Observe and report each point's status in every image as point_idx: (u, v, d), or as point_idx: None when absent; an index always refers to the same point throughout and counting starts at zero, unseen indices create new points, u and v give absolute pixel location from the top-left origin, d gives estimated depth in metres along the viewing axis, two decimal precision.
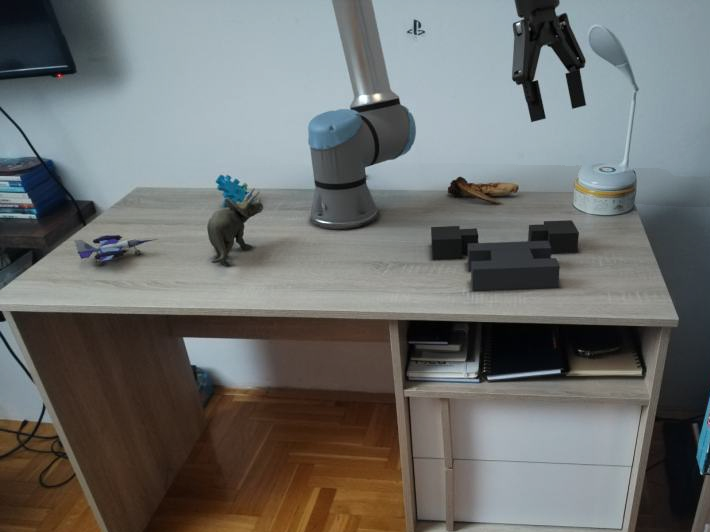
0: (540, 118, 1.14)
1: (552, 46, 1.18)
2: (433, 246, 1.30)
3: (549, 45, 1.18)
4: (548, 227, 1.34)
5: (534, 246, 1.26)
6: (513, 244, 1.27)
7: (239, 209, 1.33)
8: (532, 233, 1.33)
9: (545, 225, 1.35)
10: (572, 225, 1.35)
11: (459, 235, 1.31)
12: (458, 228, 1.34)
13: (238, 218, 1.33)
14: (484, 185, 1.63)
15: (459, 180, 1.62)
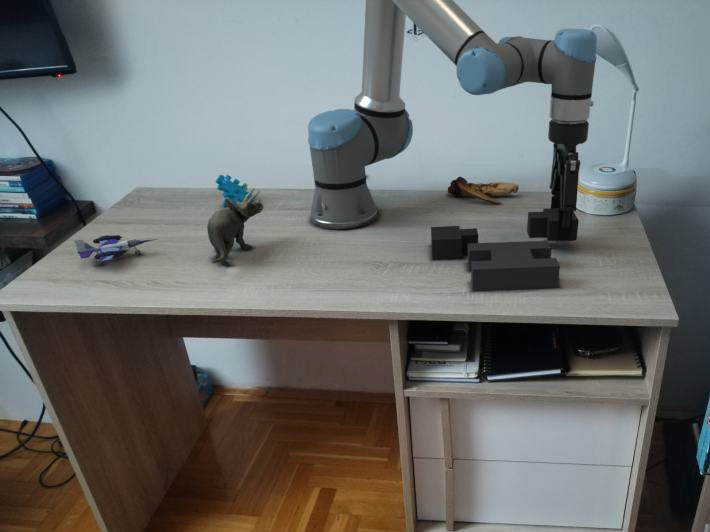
0: (567, 239, 1.32)
1: (558, 169, 1.30)
2: (433, 246, 1.30)
3: (556, 168, 1.30)
4: (547, 215, 1.33)
5: (534, 246, 1.26)
6: (513, 244, 1.27)
7: (239, 209, 1.33)
8: (531, 220, 1.32)
9: (544, 212, 1.34)
10: None
11: (459, 235, 1.31)
12: (458, 228, 1.34)
13: (238, 218, 1.33)
14: (484, 185, 1.63)
15: (459, 180, 1.62)
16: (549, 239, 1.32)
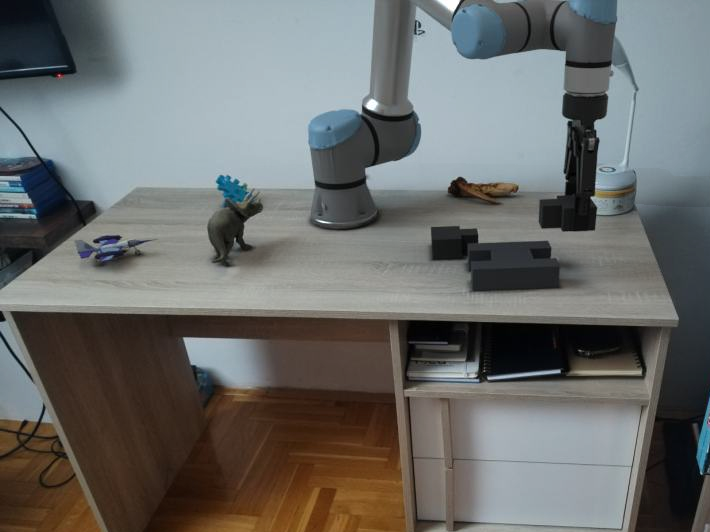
0: (584, 229, 1.17)
1: (573, 150, 1.15)
2: (433, 246, 1.30)
3: (571, 148, 1.15)
4: (562, 202, 1.18)
5: (534, 246, 1.26)
6: (513, 244, 1.27)
7: (239, 209, 1.33)
8: (544, 208, 1.17)
9: (558, 200, 1.19)
10: None
11: (459, 235, 1.31)
12: (458, 228, 1.34)
13: (238, 218, 1.33)
14: (484, 185, 1.63)
15: (459, 180, 1.62)
16: (564, 229, 1.17)
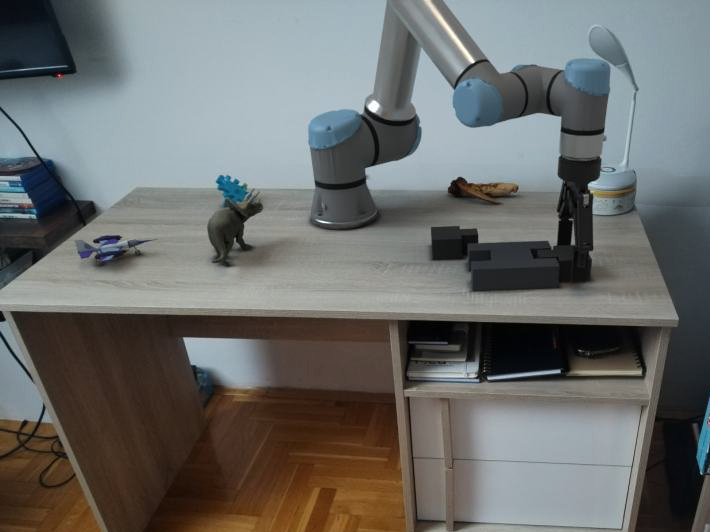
0: (582, 281, 1.19)
1: (567, 202, 1.22)
2: (433, 246, 1.30)
3: (565, 201, 1.21)
4: (558, 253, 1.23)
5: (534, 246, 1.26)
6: (513, 244, 1.27)
7: (239, 209, 1.33)
8: None
9: (555, 250, 1.24)
10: None
11: (459, 235, 1.31)
12: (458, 228, 1.34)
13: (238, 218, 1.33)
14: (484, 185, 1.63)
15: (459, 180, 1.62)
16: (560, 280, 1.22)
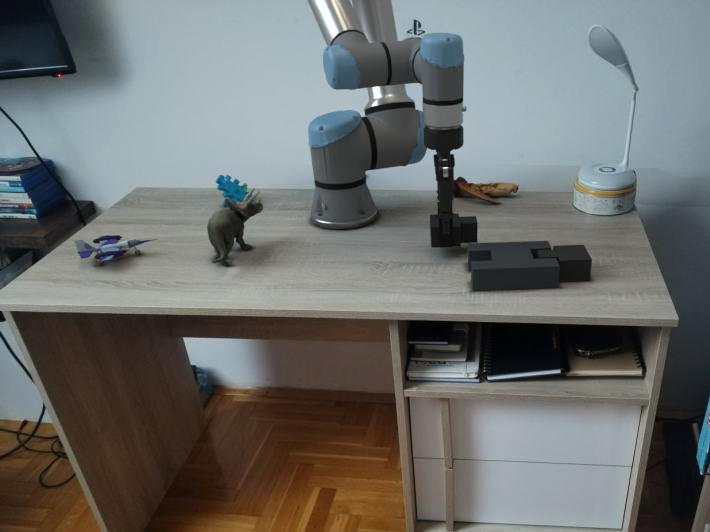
0: (450, 246, 1.30)
1: None
2: (432, 234, 1.29)
3: None
4: (558, 253, 1.23)
5: (534, 246, 1.26)
6: (513, 244, 1.27)
7: (239, 209, 1.33)
8: None
9: (555, 250, 1.24)
10: (584, 250, 1.24)
11: (458, 223, 1.30)
12: (457, 216, 1.33)
13: (238, 218, 1.33)
14: (484, 185, 1.63)
15: (459, 180, 1.62)
16: (560, 280, 1.22)
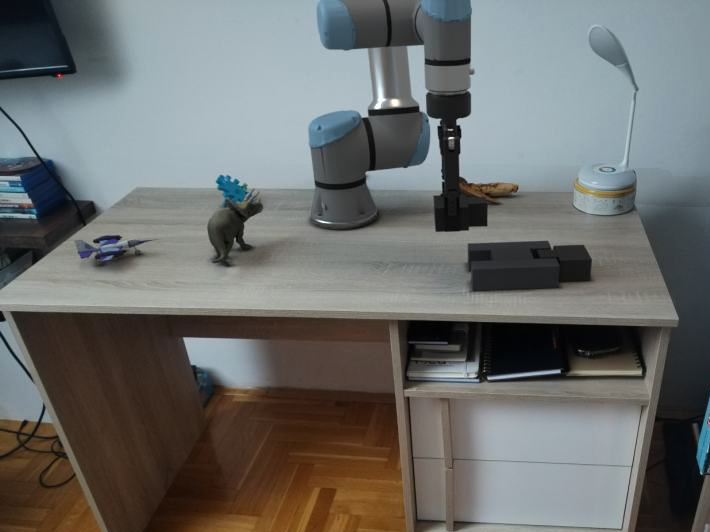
0: (456, 230, 1.15)
1: (444, 150, 1.14)
2: (436, 216, 1.14)
3: None
4: (558, 253, 1.23)
5: (534, 246, 1.26)
6: (513, 244, 1.27)
7: (239, 209, 1.33)
8: None
9: (555, 250, 1.24)
10: (584, 250, 1.24)
11: (466, 203, 1.15)
12: (464, 197, 1.18)
13: (238, 218, 1.33)
14: (484, 185, 1.63)
15: (459, 180, 1.62)
16: (560, 280, 1.22)
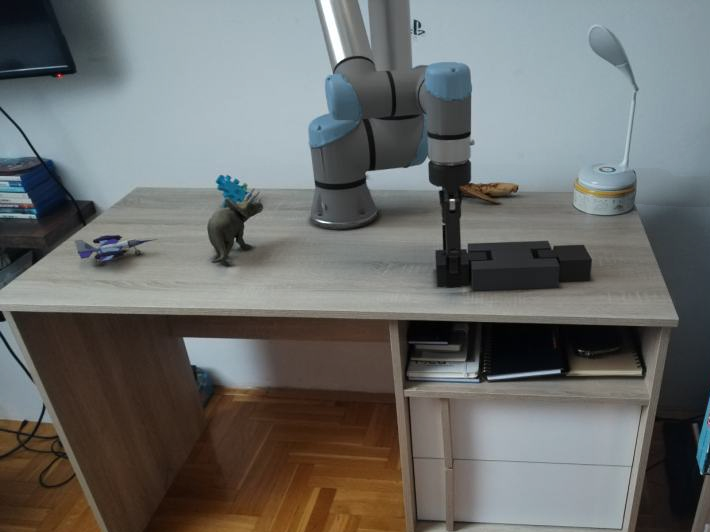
0: (457, 286, 1.18)
1: None
2: (438, 272, 1.20)
3: None
4: (558, 253, 1.23)
5: (534, 246, 1.26)
6: (513, 244, 1.27)
7: (239, 209, 1.33)
8: None
9: (555, 250, 1.24)
10: (584, 250, 1.24)
11: (466, 260, 1.21)
12: (465, 252, 1.24)
13: (238, 218, 1.33)
14: (484, 185, 1.63)
15: None
16: (560, 280, 1.22)
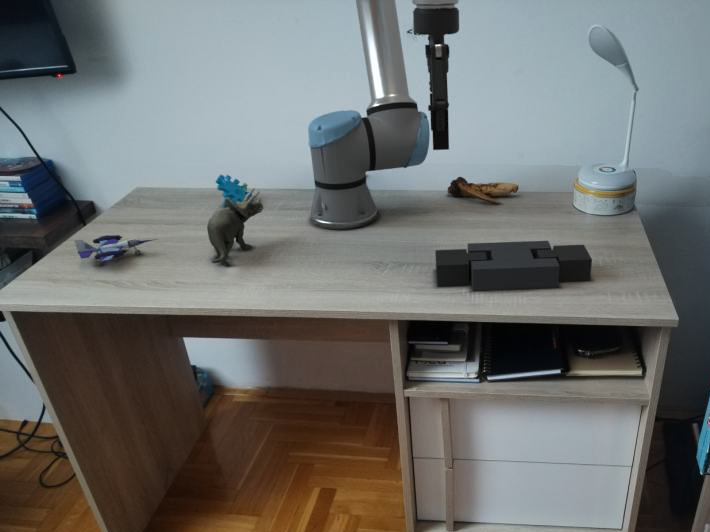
0: (445, 148, 1.10)
1: None
2: (438, 272, 1.20)
3: None
4: (558, 253, 1.23)
5: (534, 246, 1.26)
6: (513, 244, 1.27)
7: (239, 209, 1.33)
8: None
9: (555, 250, 1.24)
10: (584, 250, 1.24)
11: (466, 260, 1.21)
12: (465, 252, 1.24)
13: (238, 218, 1.33)
14: (484, 185, 1.63)
15: (459, 180, 1.62)
16: (560, 280, 1.22)
